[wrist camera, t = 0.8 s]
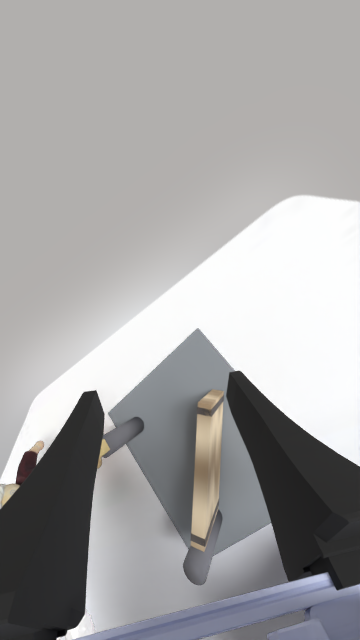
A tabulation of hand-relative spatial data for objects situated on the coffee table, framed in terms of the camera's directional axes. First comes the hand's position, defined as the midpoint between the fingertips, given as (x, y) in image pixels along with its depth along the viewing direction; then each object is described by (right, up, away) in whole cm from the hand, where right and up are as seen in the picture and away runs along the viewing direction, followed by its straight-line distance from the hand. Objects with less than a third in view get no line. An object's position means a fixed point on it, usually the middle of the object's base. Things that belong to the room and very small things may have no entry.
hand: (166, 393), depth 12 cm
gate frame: (+3, -10, +13) cm, 16 cm away
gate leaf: (+5, -9, +11) cm, 15 cm away
